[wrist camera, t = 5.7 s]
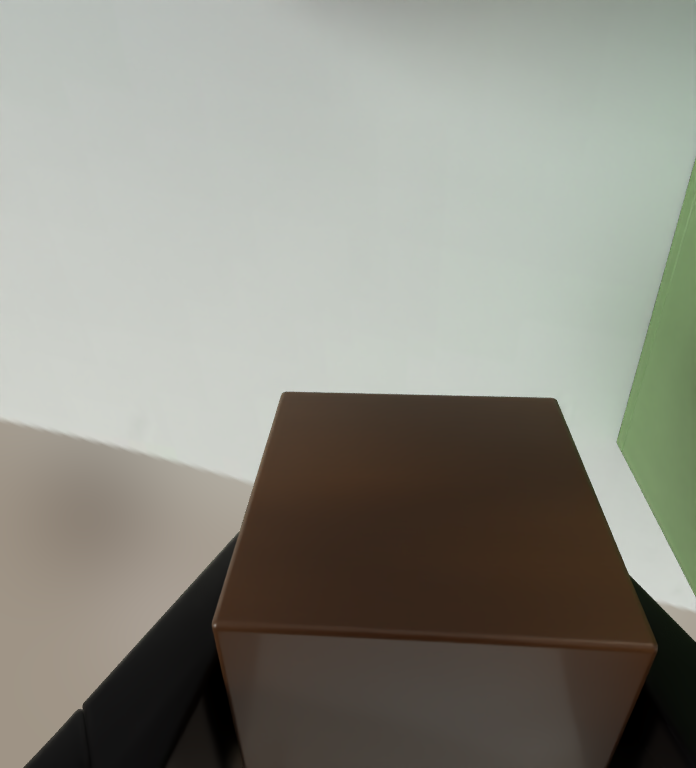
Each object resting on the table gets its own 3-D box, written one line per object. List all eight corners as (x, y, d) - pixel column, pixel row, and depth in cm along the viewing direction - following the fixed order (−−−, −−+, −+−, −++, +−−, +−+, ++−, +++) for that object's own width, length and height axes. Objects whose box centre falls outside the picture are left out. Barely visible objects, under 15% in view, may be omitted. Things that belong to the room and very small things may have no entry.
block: (557, 395, 8) (664, 649, 5) (520, 582, 11) (577, 850, 7) (281, 389, 9) (208, 626, 5) (298, 572, 11) (253, 824, 7)
